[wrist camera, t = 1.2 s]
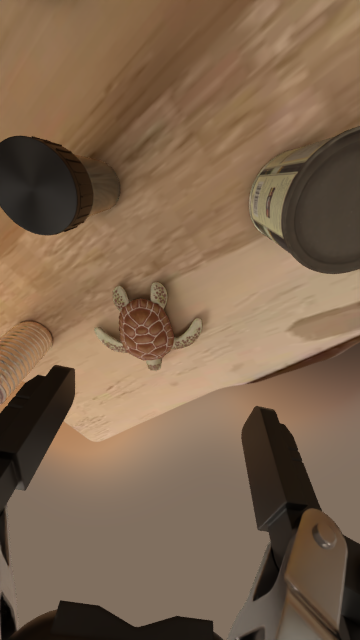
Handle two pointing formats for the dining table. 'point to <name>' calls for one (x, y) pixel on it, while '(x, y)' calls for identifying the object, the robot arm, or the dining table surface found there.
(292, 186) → the coffee can
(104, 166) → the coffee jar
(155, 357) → the decorative turtle
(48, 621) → the robot arm
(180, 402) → the dining table surface
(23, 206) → the jar lid
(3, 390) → the water bottle
